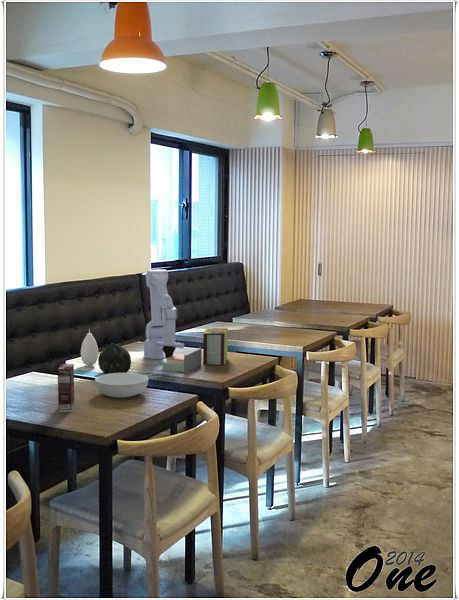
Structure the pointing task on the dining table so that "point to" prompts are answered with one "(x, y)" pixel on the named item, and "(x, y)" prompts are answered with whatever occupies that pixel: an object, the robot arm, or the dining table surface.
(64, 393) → the supplement box
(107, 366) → the squash
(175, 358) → the carton
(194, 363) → the grey printed box
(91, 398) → the dining table surface
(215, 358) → the protein box
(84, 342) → the white teardrop bulb
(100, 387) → the serving bowl
